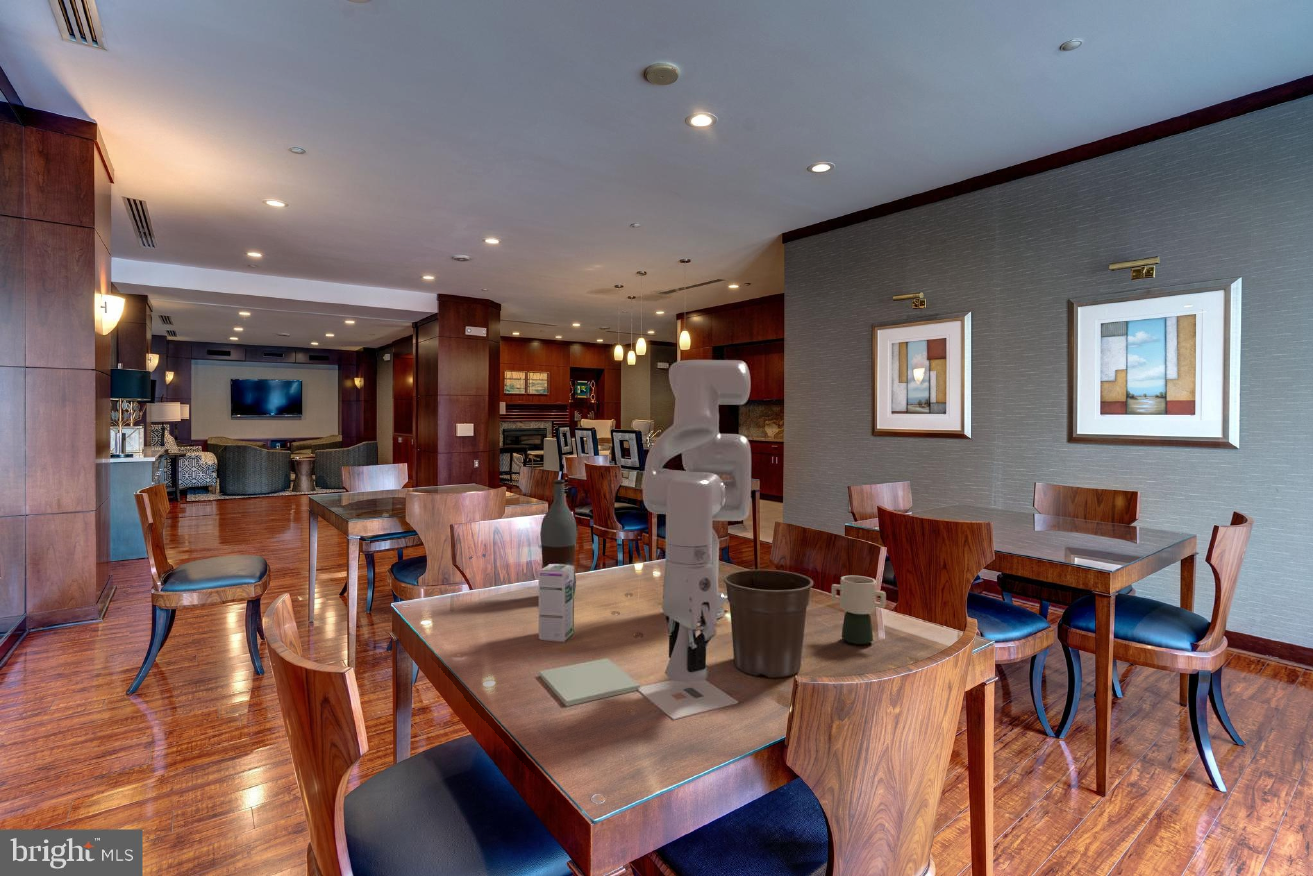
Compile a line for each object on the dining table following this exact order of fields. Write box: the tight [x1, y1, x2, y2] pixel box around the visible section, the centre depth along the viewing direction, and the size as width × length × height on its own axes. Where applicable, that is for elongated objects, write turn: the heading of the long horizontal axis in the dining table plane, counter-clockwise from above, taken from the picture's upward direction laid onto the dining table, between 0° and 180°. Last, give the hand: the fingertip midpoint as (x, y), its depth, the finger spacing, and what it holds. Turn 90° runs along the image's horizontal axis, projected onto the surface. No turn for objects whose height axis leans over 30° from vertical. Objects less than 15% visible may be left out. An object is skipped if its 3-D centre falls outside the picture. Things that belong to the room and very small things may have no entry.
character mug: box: [830, 575, 887, 645], centre depth 125 cm, size 11×7×13 cm, turn 58°
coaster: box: [538, 658, 641, 707], centre depth 103 cm, size 13×13×1 cm
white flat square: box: [637, 679, 739, 721], centre depth 98 cm, size 12×12×1 cm
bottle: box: [539, 479, 578, 595], centre depth 152 cm, size 9×9×30 cm
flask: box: [664, 624, 709, 683], centre depth 99 cm, size 7×7×10 cm
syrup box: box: [538, 564, 575, 643], centre depth 125 cm, size 6×6×14 cm
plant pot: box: [723, 569, 814, 679], centre depth 111 cm, size 16×16×16 cm
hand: (686, 662), depth 99 cm, fingers closed on flask, 4 cm apart
